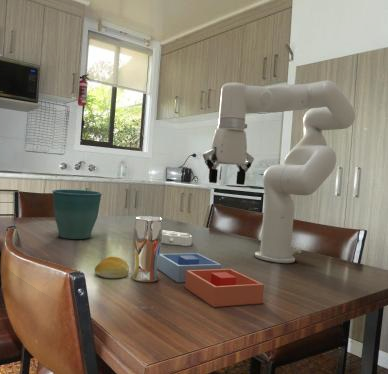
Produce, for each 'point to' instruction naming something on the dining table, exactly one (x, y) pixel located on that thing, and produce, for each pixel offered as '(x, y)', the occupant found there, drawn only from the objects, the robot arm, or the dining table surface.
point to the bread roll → (112, 268)
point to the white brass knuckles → (176, 238)
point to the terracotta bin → (224, 288)
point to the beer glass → (147, 247)
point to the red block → (222, 279)
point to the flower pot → (76, 212)
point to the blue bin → (178, 272)
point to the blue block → (188, 260)
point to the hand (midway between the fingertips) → (226, 183)
